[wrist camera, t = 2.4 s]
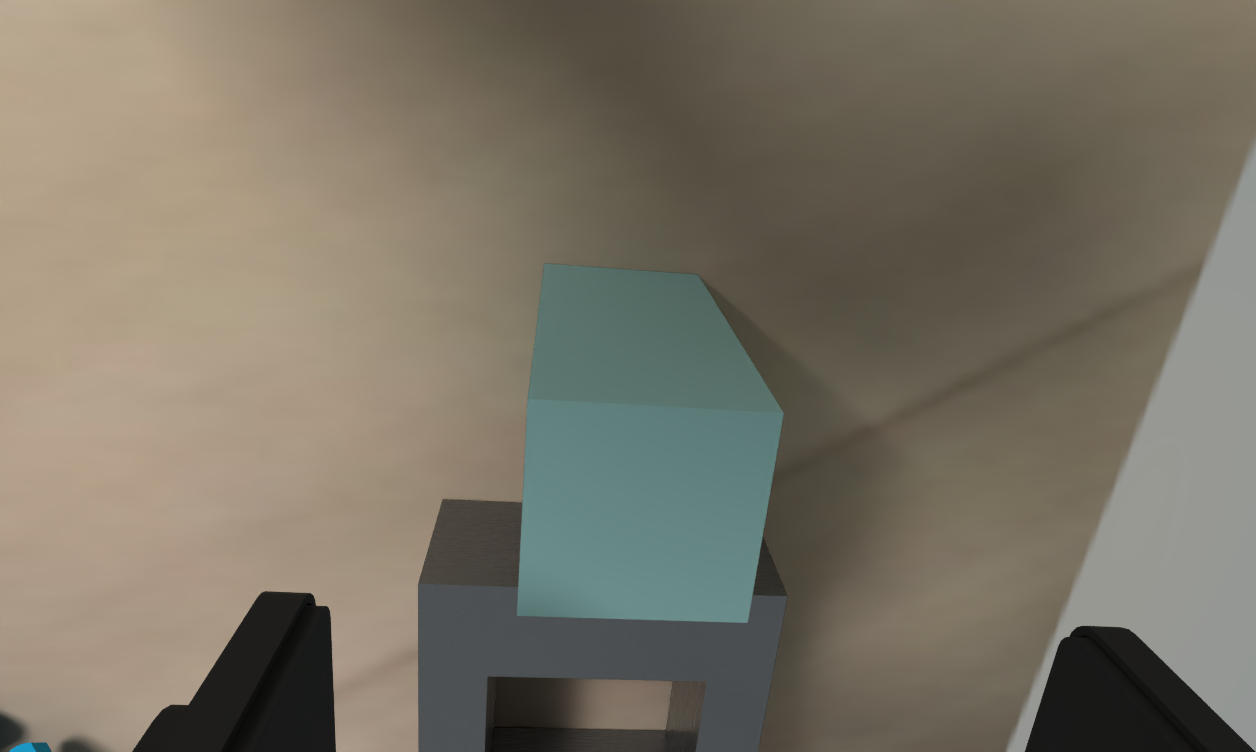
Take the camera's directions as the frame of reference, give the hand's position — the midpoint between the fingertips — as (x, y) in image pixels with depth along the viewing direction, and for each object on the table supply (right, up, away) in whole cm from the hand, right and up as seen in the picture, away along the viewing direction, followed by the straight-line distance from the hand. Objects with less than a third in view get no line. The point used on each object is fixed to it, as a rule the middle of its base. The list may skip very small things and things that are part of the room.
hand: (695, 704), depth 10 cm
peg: (-1, +5, +11) cm, 12 cm away
